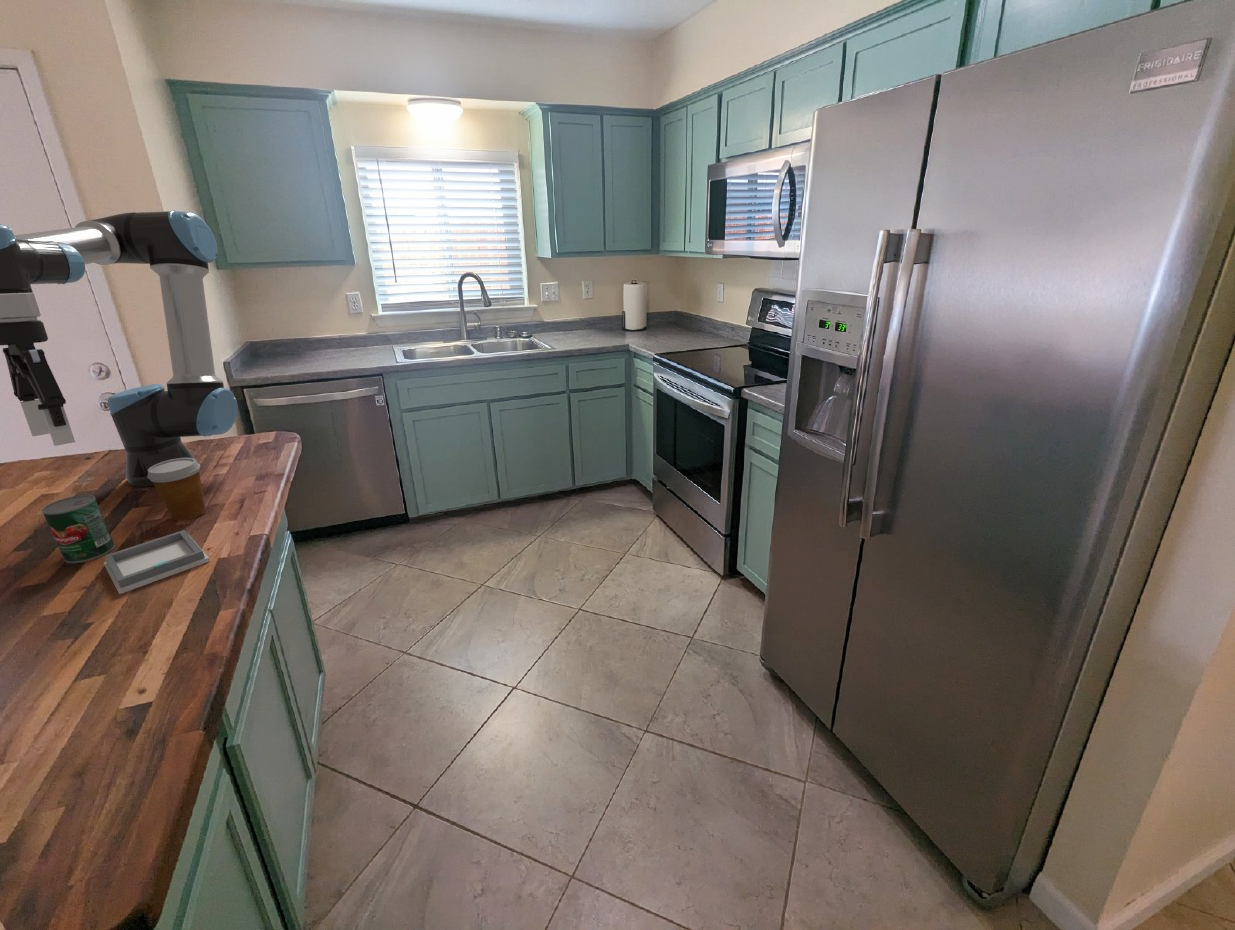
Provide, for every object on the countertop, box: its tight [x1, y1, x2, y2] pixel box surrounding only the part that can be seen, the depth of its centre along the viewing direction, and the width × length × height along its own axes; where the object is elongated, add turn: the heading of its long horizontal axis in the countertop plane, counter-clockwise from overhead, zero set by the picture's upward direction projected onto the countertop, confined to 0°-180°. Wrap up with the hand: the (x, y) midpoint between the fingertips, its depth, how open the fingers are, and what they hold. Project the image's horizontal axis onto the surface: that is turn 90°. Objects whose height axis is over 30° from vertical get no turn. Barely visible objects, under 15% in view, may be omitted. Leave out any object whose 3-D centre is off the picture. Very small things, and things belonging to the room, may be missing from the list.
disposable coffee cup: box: [147, 458, 207, 521], centre depth 129 cm, size 10×10×12 cm
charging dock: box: [103, 529, 211, 595], centre depth 112 cm, size 14×14×2 cm
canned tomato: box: [41, 494, 116, 564], centre depth 115 cm, size 8×8×11 cm
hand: (53, 439), depth 107 cm, fingers open, 13 cm apart
